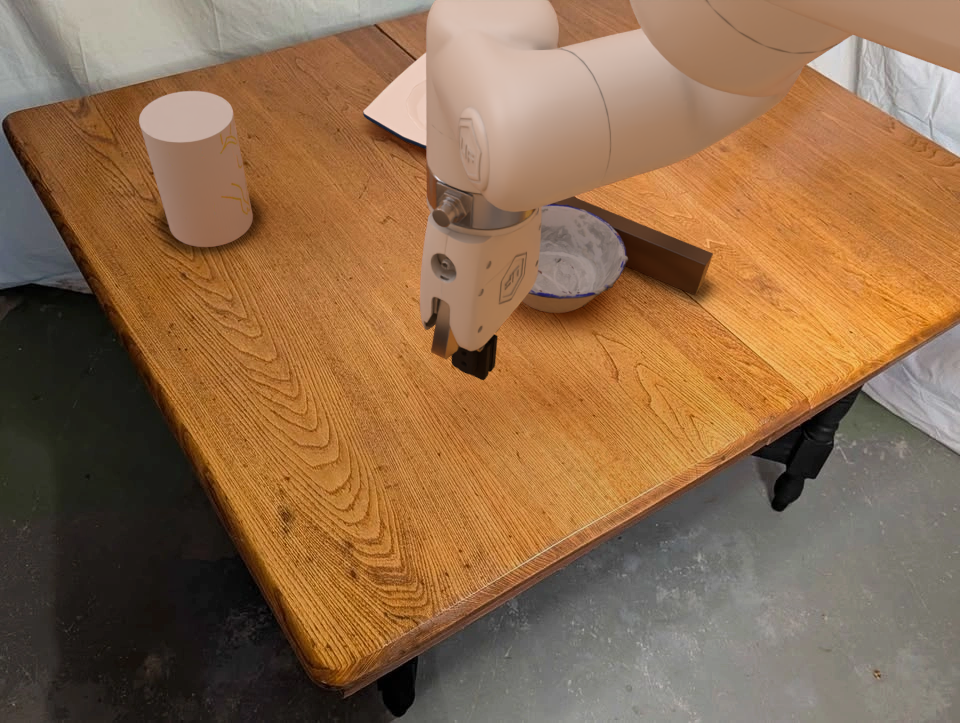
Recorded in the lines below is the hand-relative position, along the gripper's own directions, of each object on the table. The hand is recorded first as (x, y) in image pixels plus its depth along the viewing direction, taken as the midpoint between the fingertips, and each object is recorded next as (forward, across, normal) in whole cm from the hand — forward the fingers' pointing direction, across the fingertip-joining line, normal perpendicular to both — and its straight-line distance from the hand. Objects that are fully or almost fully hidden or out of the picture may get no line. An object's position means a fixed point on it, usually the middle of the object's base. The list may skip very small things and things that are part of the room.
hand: (473, 367), depth 69 cm
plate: (+3, +36, +22) cm, 42 cm away
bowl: (+4, +16, +1) cm, 17 cm away
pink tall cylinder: (+4, +5, +34) cm, 34 cm away
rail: (+4, +24, 0) cm, 24 cm away
